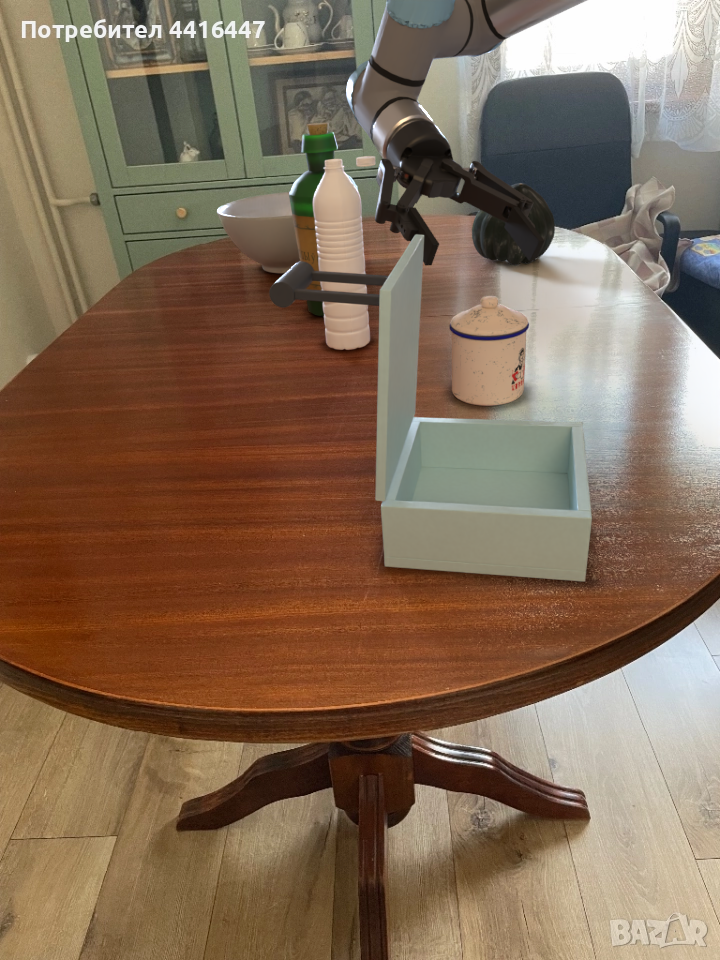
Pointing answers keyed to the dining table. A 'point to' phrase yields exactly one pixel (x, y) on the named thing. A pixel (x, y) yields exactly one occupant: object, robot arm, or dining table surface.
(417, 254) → the lid
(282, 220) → the decorative bowl
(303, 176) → the bottle
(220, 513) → the dining table surface
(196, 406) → the dining table surface
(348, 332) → the water bottle
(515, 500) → the pale green box base
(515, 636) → the dining table surface
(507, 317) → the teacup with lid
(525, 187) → the squash
